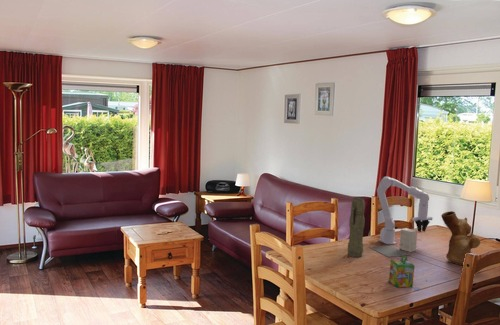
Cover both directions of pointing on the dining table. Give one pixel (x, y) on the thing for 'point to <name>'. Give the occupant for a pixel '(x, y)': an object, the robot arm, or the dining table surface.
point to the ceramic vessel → (459, 238)
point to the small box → (408, 239)
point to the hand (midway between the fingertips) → (421, 231)
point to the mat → (389, 251)
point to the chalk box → (401, 272)
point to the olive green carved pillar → (356, 228)
